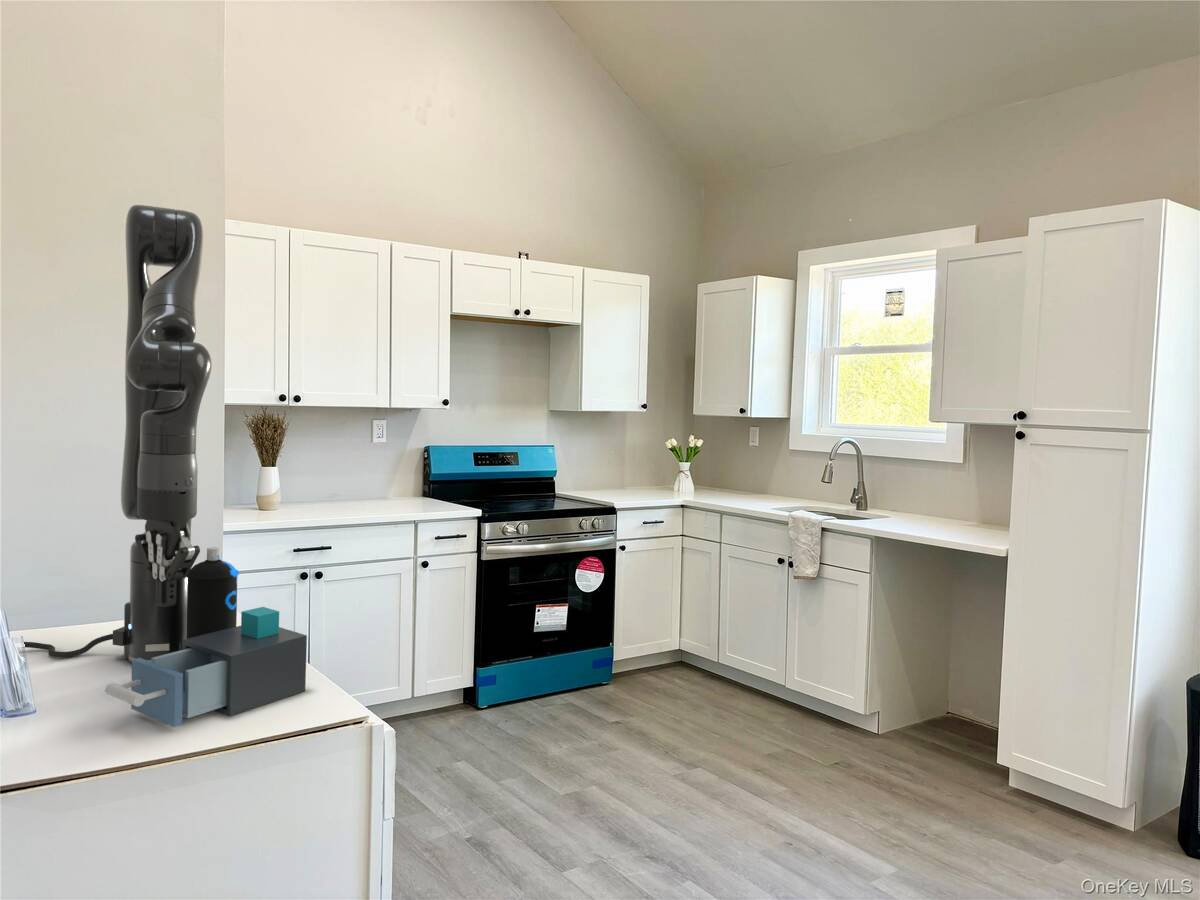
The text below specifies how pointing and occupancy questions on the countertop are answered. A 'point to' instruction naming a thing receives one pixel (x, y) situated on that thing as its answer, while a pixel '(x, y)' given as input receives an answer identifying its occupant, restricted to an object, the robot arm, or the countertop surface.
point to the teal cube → (259, 622)
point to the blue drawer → (175, 685)
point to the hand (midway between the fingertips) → (166, 604)
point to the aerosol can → (211, 595)
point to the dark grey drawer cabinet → (256, 666)
